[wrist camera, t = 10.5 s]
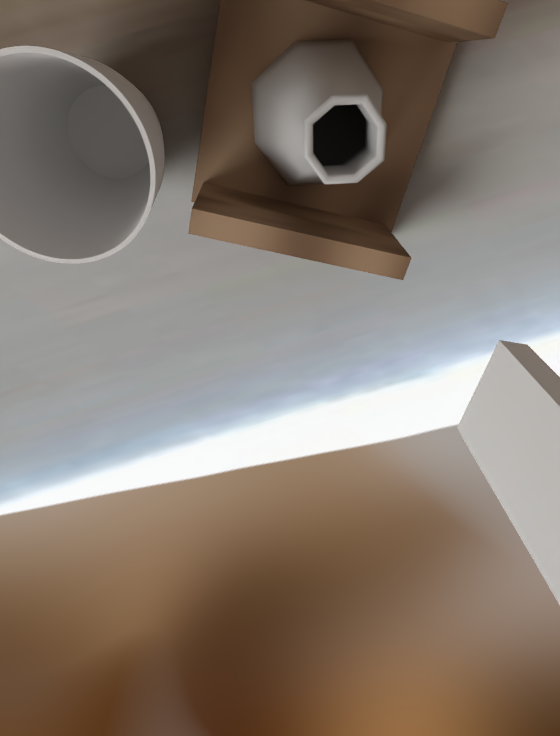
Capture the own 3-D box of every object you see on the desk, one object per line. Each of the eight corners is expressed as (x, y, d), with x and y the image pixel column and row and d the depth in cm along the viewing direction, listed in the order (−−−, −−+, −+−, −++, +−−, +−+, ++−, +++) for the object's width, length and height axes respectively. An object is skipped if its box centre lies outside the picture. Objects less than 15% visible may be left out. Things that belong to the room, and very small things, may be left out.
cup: (126, 16, 26) (63, -4, 17) (211, 164, 30) (194, 206, 21) (5, 102, 28) (-106, 121, 19) (101, 231, 32) (43, 295, 23)
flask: (363, 10, 25) (419, -16, 16) (398, 157, 29) (459, 198, 20) (228, 71, 26) (215, 75, 18) (278, 205, 30) (287, 263, 21)
